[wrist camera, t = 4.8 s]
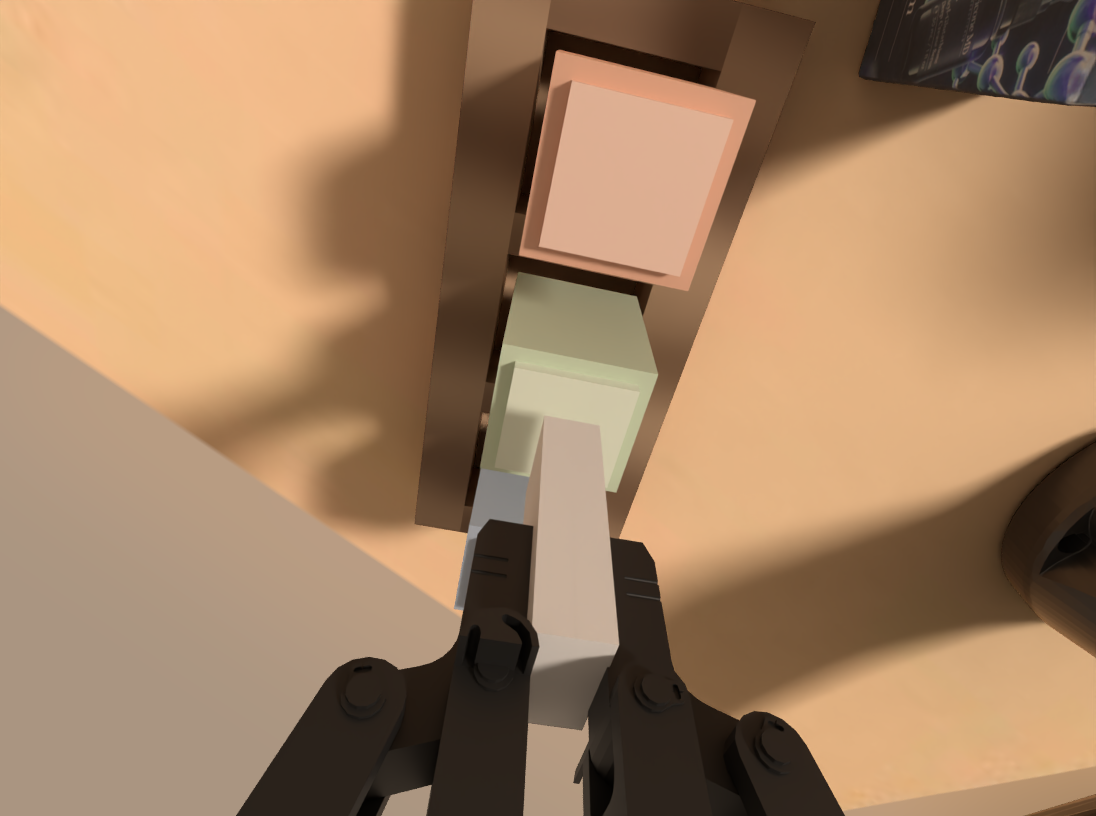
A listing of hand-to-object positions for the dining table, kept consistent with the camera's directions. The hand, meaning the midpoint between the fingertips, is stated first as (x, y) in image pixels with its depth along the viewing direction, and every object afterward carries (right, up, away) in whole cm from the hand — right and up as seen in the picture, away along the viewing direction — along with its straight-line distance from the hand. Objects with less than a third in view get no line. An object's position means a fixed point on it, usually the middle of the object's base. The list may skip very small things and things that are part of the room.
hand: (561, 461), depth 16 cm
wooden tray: (0, +6, +9) cm, 11 cm away
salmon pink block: (+2, +10, +3) cm, 11 cm away
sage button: (0, +4, +7) cm, 8 cm away
